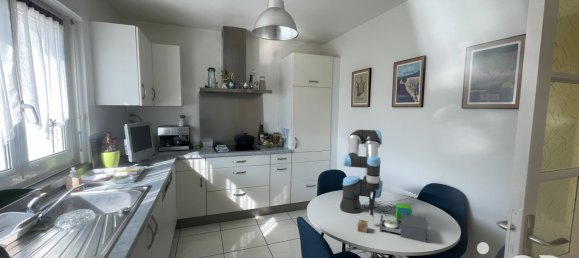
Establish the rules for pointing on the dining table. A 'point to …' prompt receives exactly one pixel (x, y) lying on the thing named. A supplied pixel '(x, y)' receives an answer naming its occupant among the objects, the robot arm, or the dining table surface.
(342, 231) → the dining table surface
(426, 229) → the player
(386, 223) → the disc
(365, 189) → the robot arm
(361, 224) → the walnut block
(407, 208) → the green and teal box
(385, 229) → the grey drawer
